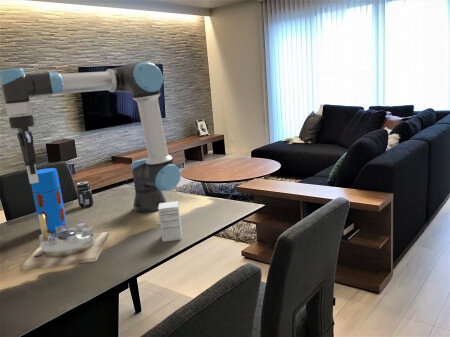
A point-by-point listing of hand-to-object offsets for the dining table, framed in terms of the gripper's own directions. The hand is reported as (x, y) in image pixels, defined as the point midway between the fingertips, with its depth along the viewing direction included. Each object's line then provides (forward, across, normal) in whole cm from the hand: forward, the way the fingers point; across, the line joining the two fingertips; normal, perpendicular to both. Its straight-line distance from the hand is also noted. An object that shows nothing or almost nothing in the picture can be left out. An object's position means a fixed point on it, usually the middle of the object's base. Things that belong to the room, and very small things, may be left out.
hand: (34, 182), depth 147 cm
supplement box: (+27, -24, -38) cm, 52 cm away
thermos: (+27, +28, -9) cm, 39 cm away
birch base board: (+26, -6, -6) cm, 28 cm away
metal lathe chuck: (+24, -6, -6) cm, 26 cm away
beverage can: (+27, +48, -30) cm, 63 cm away
